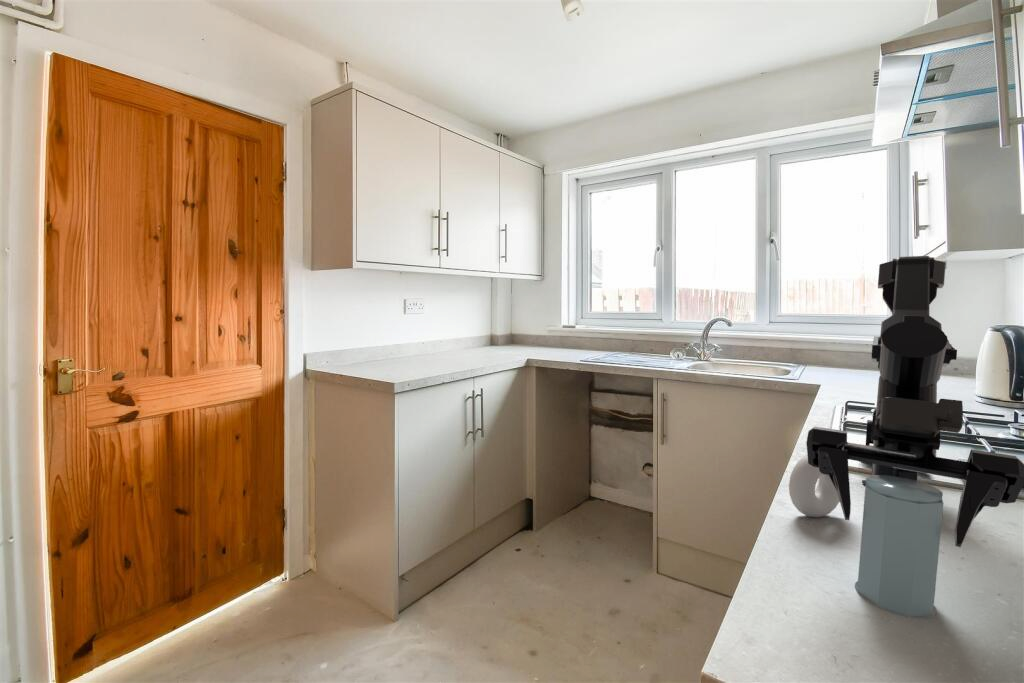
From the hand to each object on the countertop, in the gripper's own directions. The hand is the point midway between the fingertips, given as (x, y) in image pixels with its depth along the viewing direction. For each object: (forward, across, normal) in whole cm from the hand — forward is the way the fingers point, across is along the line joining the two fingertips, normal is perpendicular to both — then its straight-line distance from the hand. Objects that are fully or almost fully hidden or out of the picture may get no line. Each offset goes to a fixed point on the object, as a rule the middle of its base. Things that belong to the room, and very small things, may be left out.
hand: (899, 531), depth 51 cm
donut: (-8, -9, +20) cm, 24 cm away
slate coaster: (+5, 0, +7) cm, 8 cm away
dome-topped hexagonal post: (+5, 0, +7) cm, 8 cm away
